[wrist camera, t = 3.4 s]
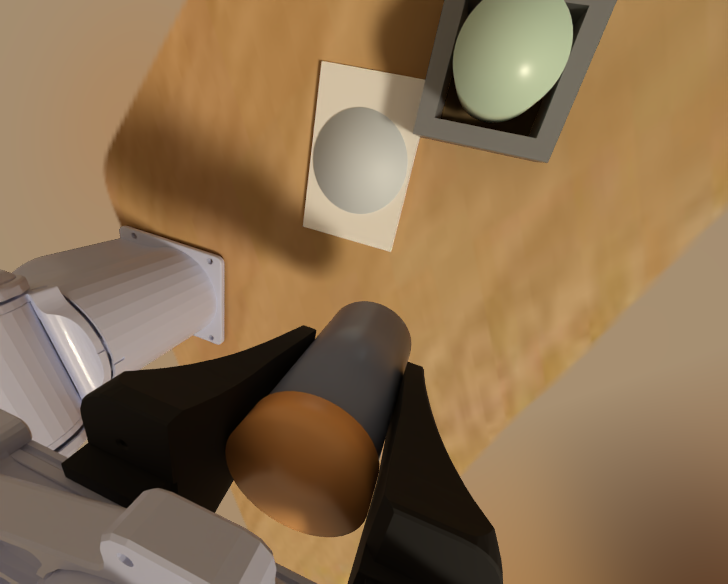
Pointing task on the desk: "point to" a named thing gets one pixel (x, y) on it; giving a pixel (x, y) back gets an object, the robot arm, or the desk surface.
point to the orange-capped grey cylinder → (325, 425)
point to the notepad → (361, 153)
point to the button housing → (589, 19)
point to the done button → (510, 56)
